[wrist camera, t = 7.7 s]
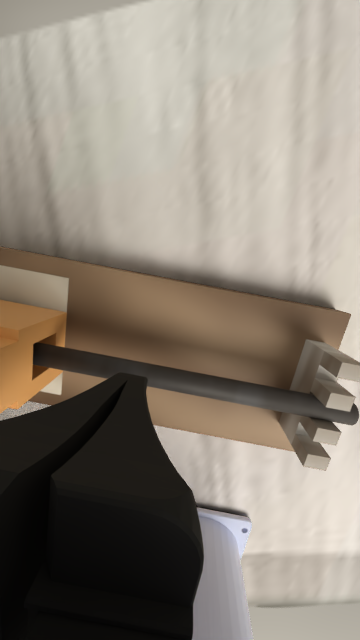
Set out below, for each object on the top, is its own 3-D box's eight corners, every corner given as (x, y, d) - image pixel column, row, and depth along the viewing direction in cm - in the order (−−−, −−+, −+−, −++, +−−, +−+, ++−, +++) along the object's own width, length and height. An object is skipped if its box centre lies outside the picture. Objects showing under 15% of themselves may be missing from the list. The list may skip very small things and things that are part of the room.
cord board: (291, 437, 17) (341, 523, 12) (-70, 368, 18) (-200, 418, 12) (335, 309, 15) (426, 336, 9) (-82, 231, 15) (-250, 209, 9)
